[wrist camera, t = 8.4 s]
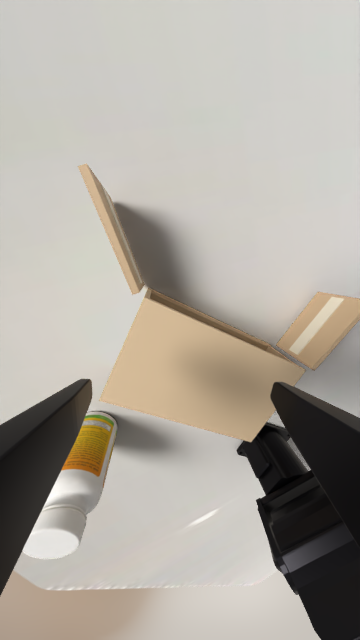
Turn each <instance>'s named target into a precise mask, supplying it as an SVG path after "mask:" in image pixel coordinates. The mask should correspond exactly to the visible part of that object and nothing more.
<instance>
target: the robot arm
mask: <svg viewBox="0 0 360 640" xmlns="http://www.w3.org/2000/svg"><path fill="white" fill-rule="evenodd" d="M270 398H271V401H272V403H273V405H274V407H275V409H276V411H277V413H278V414H279V416H280V418H281V420H282V422H283V424H284V426H285V428H286V429H283V428H280V427H277V426H274V425H271V424H267V423H265V425H264V426H263V427H262V429H261V430H260V431H259V433H258V434H257V435H256V437H255V438H254V439H253V440H252V442H248V441H245V440H244V441H243V442H242V444H241V445H240V446H239V448H238V449H237V453H238V455H241V456H245V457H247V458H248V460H249V463H250V465H251V467H252V469H253V471H254V473H255V476H256V477H257V478H258V479H259V481H260V483H261V486H262V488H263V490H264V492H265V494H266V496H264V497H263V498H261V499H260V498H259V499H257V500H256V502H257V505H258V511H259V514H260V517H261V520H262V523H263V526H264V529H265V532H266V535H267V538H268V541H269V545H270V549H271V553H272V557H273V561H274V564H275V566H276V568H277V569H278V570H279V571H280V572H282V573H283V574H284V576H285V578H286V580H287V582H288V584H289V585H290V587H291V589H292V590H293V592H294V593H295V594H296V595H298V594H299V596H300V598H301V600H302V603H303V605H304V607H305V609H306V611H307V614H308V616H309V618H310V621H311V623H312V626H313V628H314V630H315V631H316V633H317V634H318V636H319V637H320V638H321V640H360V418H358V417H356V416H354V415H352V414H350V413H348V412H346V411H344V410H342V409H339V408H337V407H335V406H333V405H331V404H329V403H327V402H325V401H323V400H320V399H318V398H316V397H314V396H312V395H310V394H308V393H306V392H304V391H301V390H299V389H297V388H295V387H293V386H291V385H289V384H287V383H285V382H274V384H273V387H272V391H271V394H270ZM91 399H92V382H91V380H90V379H80V380H78V381H76V382H75V383H73V384H71V385H69V386H68V387H66V388H64V389H62V390H61V391H59V392H57V393H55V394H54V395H52V396H50V397H48V398H47V399H45V400H43V401H41V402H40V403H38V404H36V405H34V406H33V407H31V408H29V409H27V410H26V411H24V412H22V413H20V414H19V415H17V416H15V417H13V418H12V419H10V420H8V421H7V422H5V423H3V424H1V425H0V595H1V593H2V591H3V589H4V587H5V585H6V583H7V581H8V579H9V577H10V575H11V573H12V571H13V569H14V567H15V565H16V563H17V560H18V558H19V556H20V554H21V552H22V550H23V548H24V546H25V544H26V542H27V540H28V538H29V536H30V534H31V532H32V530H33V528H34V525H35V523H36V521H37V519H38V517H39V515H40V513H41V511H42V509H43V507H44V505H45V503H46V501H47V499H48V497H49V495H50V493H51V490H52V488H53V486H54V484H55V482H56V480H57V478H58V476H59V474H60V472H61V470H62V468H63V466H64V464H65V462H66V460H67V458H68V455H69V453H70V451H71V449H72V447H73V445H74V443H75V441H76V439H77V437H78V434H79V432H80V429H81V427H82V424H83V421H84V419H85V416H86V413H87V410H88V408H89V405H90V402H91ZM290 437H291V438H292V440H293V441H294V443H295V445H296V446H297V448H298V449H299V451H300V453H301V454H302V456H303V457H304V459H305V461H306V462H307V464H308V466H309V467H310V469H311V470H310V471H308V470H307V469H306V468H305V466H304V465H303V463H302V462H301V461H300V459H299V458H298V457H297V455H296V454H295V452H294V451H293V450H292V448H291V447H290V446H289V444H288V443H287V441H288V439H289V438H290Z"/></svg>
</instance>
